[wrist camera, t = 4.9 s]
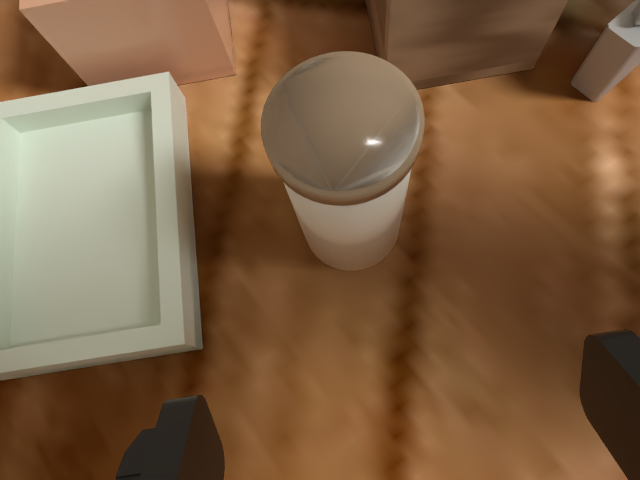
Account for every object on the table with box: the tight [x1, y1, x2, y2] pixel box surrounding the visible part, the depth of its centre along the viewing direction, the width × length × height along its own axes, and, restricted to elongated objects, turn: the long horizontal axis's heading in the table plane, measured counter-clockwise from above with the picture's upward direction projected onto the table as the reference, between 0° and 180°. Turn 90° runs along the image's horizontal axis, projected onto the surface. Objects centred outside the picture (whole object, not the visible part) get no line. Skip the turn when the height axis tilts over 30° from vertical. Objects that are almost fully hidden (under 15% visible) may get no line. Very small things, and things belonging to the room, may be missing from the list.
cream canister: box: [261, 51, 424, 271], centre depth 20 cm, size 5×5×10 cm
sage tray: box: [0, 72, 203, 380], centre depth 25 cm, size 10×14×2 cm
